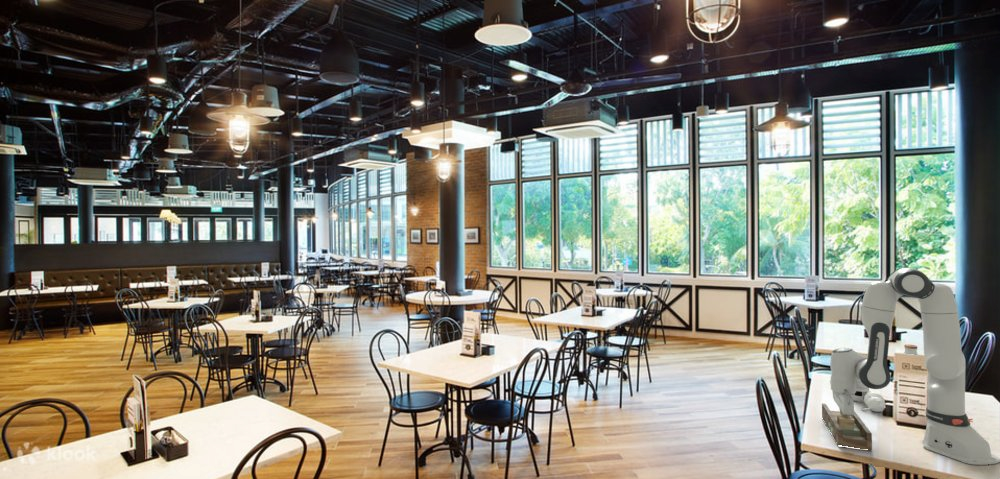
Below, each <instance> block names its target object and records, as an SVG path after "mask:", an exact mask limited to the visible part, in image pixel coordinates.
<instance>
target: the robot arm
mask: <svg viewBox="0 0 1000 479" xmlns="http://www.w3.org/2000/svg"><path fill="white" fill-rule="evenodd" d="M902 296H907V297H912V298H915V299H916V298H917V300H918V302H919V306H920V307H919V308H920V317H921V324H922V333H923V335H922V336H923V337H922V338H923V357H924V366H925V368H926V370H927V385H926V386H927V387H926V396H927V397H926V399H927V403H926V404H927V406H926V408H925V417H926V425H925V426H926V428H925V433H924V436H923V440H922V445H923V449H927V450H929V451H932V452H934V453H937V454H939V455H943V456H946V457H948V458H951V459H954V460H956V461H959V462H962V463H965V464H968V465H974V466H975V465H979V466H980V465H981V466H987V465H988V464H989V465H996V464H998V463H1000V457H998V456H996V455H994V454H992V451H991V445H990V443H989V441H987V440H986V439H985V438H984V437H983V436H982V435H981V434H980V433H979V432H978V431H977V430H976V429H975V428H974V427H972V426H971V423H973V422H974V421H973V420H974V418H969V417H968V415H967V412H966V358H965V354H964V353H963V351H962V350H963V349H962V338H961V337H962V336H961V325H960V324H961V323H960V316H959V311H958V309H959V308H958V304H957V301H956V297H955V294H954V292H953V290H952V288H951V287H950V286H949V285H946V284H943V283H933V282H932V280H931V279H930V278H929V277H928V276H927V275H926V274H925V273H924V272H922V271H920V270H919V269H916V268H912V267H901V268H897V269H896V270H894V271H892V272H891V273H890V275H889V276H888V277H887V278H886V279H885V280H884V281H879V280H878V281H872V282H870V283H869V284H868V285H867V286H866V289H865V292H864V295H863V299H862V302H861V308H860V318H861V319H860V321H861V323H862V325H863V326H864V328H865V331H866V333H867V336H868V348H867V354H866V355H863V354H861V353H859V352H857V351H855V350H854V349H852V348H849V347H848V348H847V347H839V348H835V349H833V350H832V352H831V355H830V362H829V365H830V372H831V375H830V380H829V382H830V390H831V391H832V399H833V401H834V402H835V404H836V405H837V407H838V410H839V412H840V415H846V416H854V411H855V403H854V402H855V401H854V400H853V397H852V394H853V393H856V379H860V380H861V382H862V383H863V384H864V385H865V386H866V387H868V388H869V389H871V390H881V389H884V388H886V387H888V385H889V384H890V382H891V378H892V377H891V374H890V371H889V366H888V354H889V348H890V347H889V345H890V336H891V332H892V326H893V324H894V318H895V313H896V306H897V302H898V300H899V299H900V298H901V297H902Z"/></svg>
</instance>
